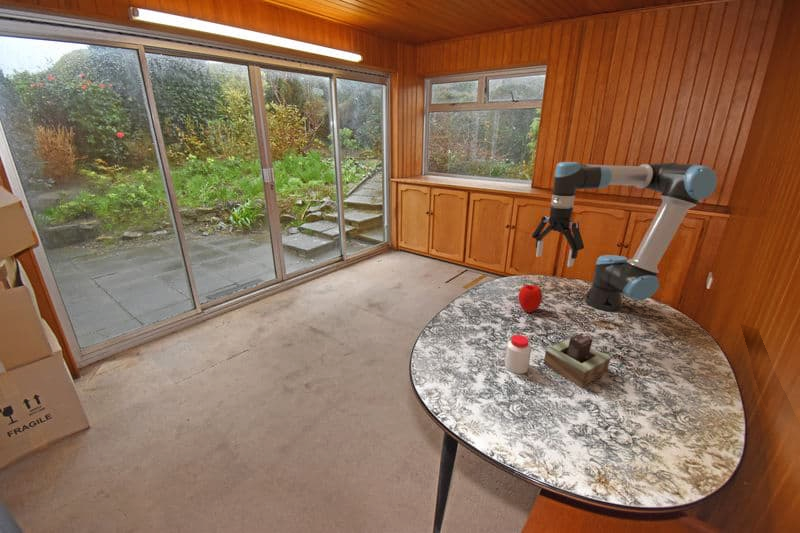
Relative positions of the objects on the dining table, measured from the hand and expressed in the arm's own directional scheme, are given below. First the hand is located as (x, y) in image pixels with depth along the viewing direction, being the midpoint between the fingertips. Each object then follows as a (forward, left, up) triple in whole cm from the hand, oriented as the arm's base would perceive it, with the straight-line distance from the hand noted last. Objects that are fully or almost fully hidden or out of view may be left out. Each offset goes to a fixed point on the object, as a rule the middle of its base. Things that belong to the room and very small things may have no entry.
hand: (553, 261), depth 134 cm
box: (+15, +24, -28) cm, 40 cm away
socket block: (+15, +24, -28) cm, 40 cm away
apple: (-5, -12, -28) cm, 31 cm away
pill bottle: (+31, +13, -28) cm, 44 cm away
